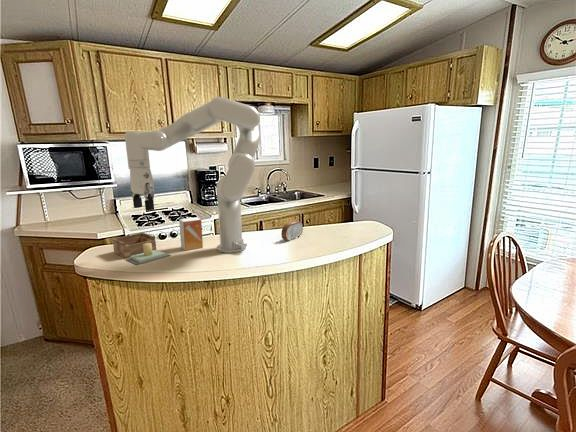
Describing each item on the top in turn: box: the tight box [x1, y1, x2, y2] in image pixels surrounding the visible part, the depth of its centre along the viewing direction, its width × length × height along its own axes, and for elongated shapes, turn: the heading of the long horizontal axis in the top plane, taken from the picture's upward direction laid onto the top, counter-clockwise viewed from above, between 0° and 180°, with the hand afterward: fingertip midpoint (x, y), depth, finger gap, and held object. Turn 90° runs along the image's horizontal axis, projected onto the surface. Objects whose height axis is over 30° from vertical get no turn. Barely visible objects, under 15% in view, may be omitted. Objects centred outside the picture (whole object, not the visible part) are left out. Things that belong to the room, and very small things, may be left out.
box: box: [112, 232, 157, 260], centre depth 136 cm, size 11×13×6 cm
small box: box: [178, 216, 204, 251], centre depth 141 cm, size 8×6×13 cm
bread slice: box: [281, 220, 304, 242], centre depth 154 cm, size 15×3×8 cm, turn 144°
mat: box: [125, 252, 171, 266], centre depth 130 cm, size 9×14×1 cm, turn 140°
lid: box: [130, 243, 166, 263], centre depth 129 cm, size 8×11×6 cm
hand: (143, 208), depth 126 cm, fingers open, 9 cm apart
